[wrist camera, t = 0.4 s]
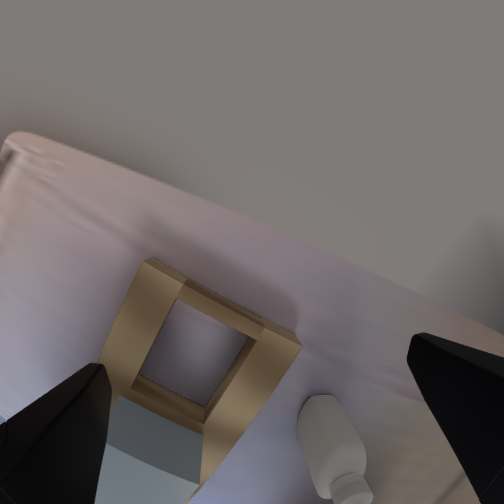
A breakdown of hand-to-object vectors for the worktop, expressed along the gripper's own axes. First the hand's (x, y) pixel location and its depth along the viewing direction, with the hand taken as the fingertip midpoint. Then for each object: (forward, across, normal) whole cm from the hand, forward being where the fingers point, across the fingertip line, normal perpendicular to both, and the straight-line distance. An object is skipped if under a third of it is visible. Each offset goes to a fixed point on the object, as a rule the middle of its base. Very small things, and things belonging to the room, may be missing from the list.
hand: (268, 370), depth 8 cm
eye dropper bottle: (+12, -6, +16) cm, 21 cm away
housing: (+10, +9, +16) cm, 21 cm away
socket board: (+13, +6, +13) cm, 19 cm away
